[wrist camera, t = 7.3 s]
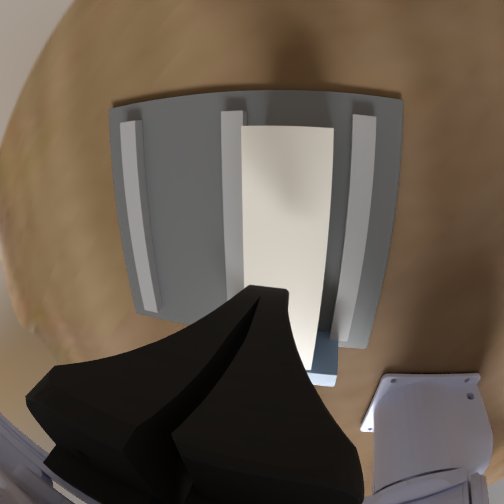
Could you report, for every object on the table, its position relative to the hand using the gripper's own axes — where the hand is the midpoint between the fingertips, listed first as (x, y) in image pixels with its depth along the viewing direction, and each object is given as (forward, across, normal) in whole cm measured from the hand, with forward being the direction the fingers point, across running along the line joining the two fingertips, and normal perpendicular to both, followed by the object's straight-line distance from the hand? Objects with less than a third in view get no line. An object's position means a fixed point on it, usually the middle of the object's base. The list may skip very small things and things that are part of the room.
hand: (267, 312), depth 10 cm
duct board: (+8, +3, 0) cm, 9 cm away
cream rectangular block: (+8, 0, 0) cm, 8 cm away
